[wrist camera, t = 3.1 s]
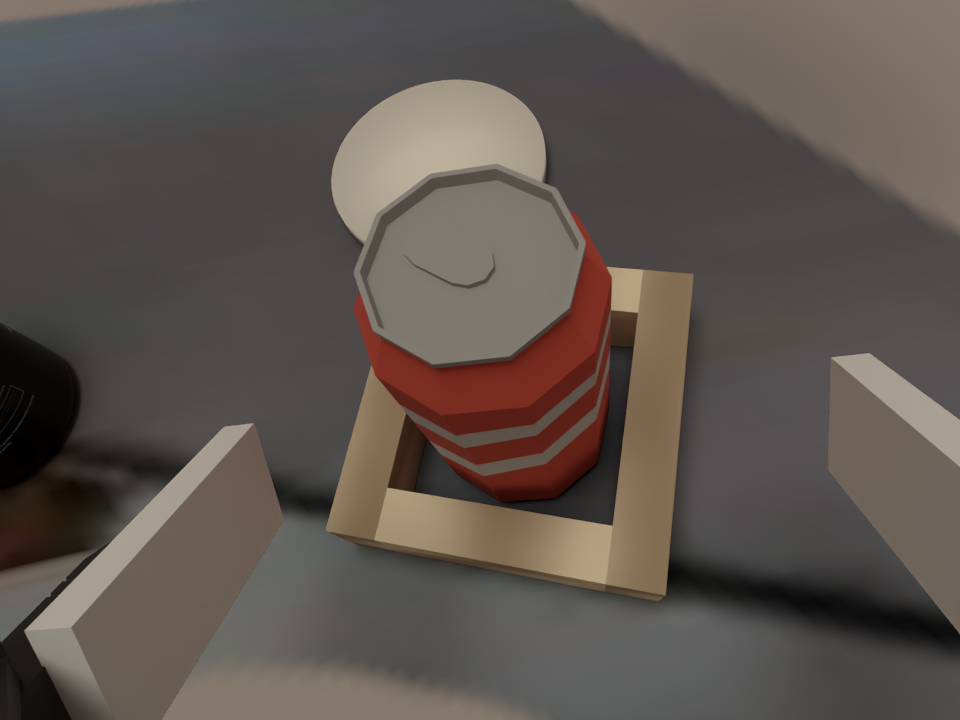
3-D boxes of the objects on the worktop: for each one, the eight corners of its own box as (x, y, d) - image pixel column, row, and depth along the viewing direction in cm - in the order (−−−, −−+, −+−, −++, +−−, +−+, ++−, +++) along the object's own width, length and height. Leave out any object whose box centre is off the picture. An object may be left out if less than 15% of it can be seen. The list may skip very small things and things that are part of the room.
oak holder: (355, 543, 25) (325, 530, 22) (421, 288, 29) (403, 250, 26) (657, 601, 22) (665, 595, 19) (683, 312, 26) (693, 274, 23)
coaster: (313, 258, 30) (305, 246, 29) (369, 93, 34) (362, 78, 33) (527, 277, 28) (524, 264, 27) (562, 97, 32) (561, 81, 31)
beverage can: (498, 327, 27) (429, 114, 16) (637, 399, 25) (664, 209, 14) (414, 449, 26) (278, 304, 15) (555, 538, 23) (514, 443, 13)
